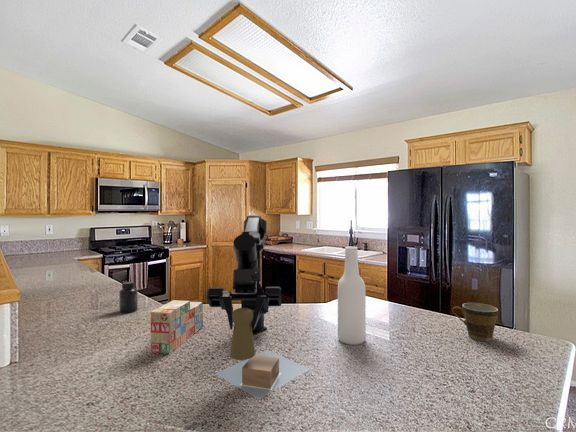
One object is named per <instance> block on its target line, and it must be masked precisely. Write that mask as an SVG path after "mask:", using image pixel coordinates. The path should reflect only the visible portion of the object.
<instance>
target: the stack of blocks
mask: <svg viewBox="0 0 576 432" xmlns="http://www.w3.org/2000/svg"><path fill="white" fill-rule="evenodd" d="M203 306H204V305H203V302H202V301H190V300H175V299H172V300H171V301H169V302H167V303H165V304H163V305H162V306H160V307H157V308H155V309H153V310H151V311H150V353H161V354H169V353H170V354H171V353H173V352H174V351H175V350H176V349H178V348H179V347H180V346H182V345H183V344H184V343H185V342H186V341H188V340H189V339H190V338H191V337H192V336H191V335H192V334H194V333H195V334H196V333H198V332H199V331H200V330H202V329H203V328H202V327H204V310H203V309H204V308H203ZM201 328H202V329H201ZM199 329H200V330H199ZM198 330H199V331H198ZM197 331H198V332H197ZM195 334H194V335H195ZM190 336H191V337H190ZM189 337H190V338H189ZM188 338H189V339H188ZM187 339H188V340H187ZM184 341H185V342H184ZM183 342H184V343H183ZM182 343H183V344H182ZM181 344H182V345H181ZM178 346H179V347H178ZM177 347H178V348H177ZM174 349H175V350H174ZM173 350H174V351H173Z"/></svg>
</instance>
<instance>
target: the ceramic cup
mask: <svg viewBox="0 0 576 432" xmlns="http://www.w3.org/2000/svg"><path fill="white" fill-rule="evenodd" d="M455 309H458V310H460V311H461V313H462V314H463V316H464V320H463V319H462V317H461V316H459V315H457V313H455V312H454V310H455ZM451 310H452V311H451V312H452V313H453V314H454V315H455V317H457V318H458V319H459V320H460V321H461V322H462V323H463V324H464V326H465V327H466V331H467V336H468V338H471V339H472V340H475V341H480V342H484V343H485V342H490V341H493V338H494V332H495V328H496V327H495V326H496V323H497V319H498V315H499V309H498V308H497V307H495V306H493V305H491V304H485V303H479V302H466V303H463V304H462V307H460V306H458V305H457V306H454V307H453V308H452V309H451Z"/></svg>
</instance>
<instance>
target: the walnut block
mask: <svg viewBox="0 0 576 432" xmlns="http://www.w3.org/2000/svg"><path fill="white" fill-rule="evenodd" d="M278 375H279V358H276V357H268V356H260V355H257V354H255V355H254V356H253V357H252V358H250V359H249V360H248V361H247V362H246V364H245V365H244V366H243V367H242V385H248V386H255V387H261V388H268V389H270V388H271V387H272V385H273V383H274V382H275V380H276V378H277V376H278Z"/></svg>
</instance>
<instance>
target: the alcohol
mask: <svg viewBox="0 0 576 432" xmlns="http://www.w3.org/2000/svg"><path fill="white" fill-rule="evenodd" d="M344 249H345V250H344V269H343V275H341V277H340V278H339V280H338V282H337V338H338V340H339V342H341V343H342V344H345V345H351V346H359V345H362V344H364V342H365V340H366V338H367V337H366V336H367V335H366V334H367V333H366V332H367V331H366V330H367V329H366V325H367V324H366V321H367V320H366V319H367V318H366V312H367V311H366V306H367V305H366V304H367V302H366V296H367V295H366V282H365V280H364V279H363V278H362V277H361V275H360V271H359V259H358V258H359V257H358V252H359V251H358V249H359V248H358V247H357V246H354V245H353V246H349V245H348V246H345V247H344Z"/></svg>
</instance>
